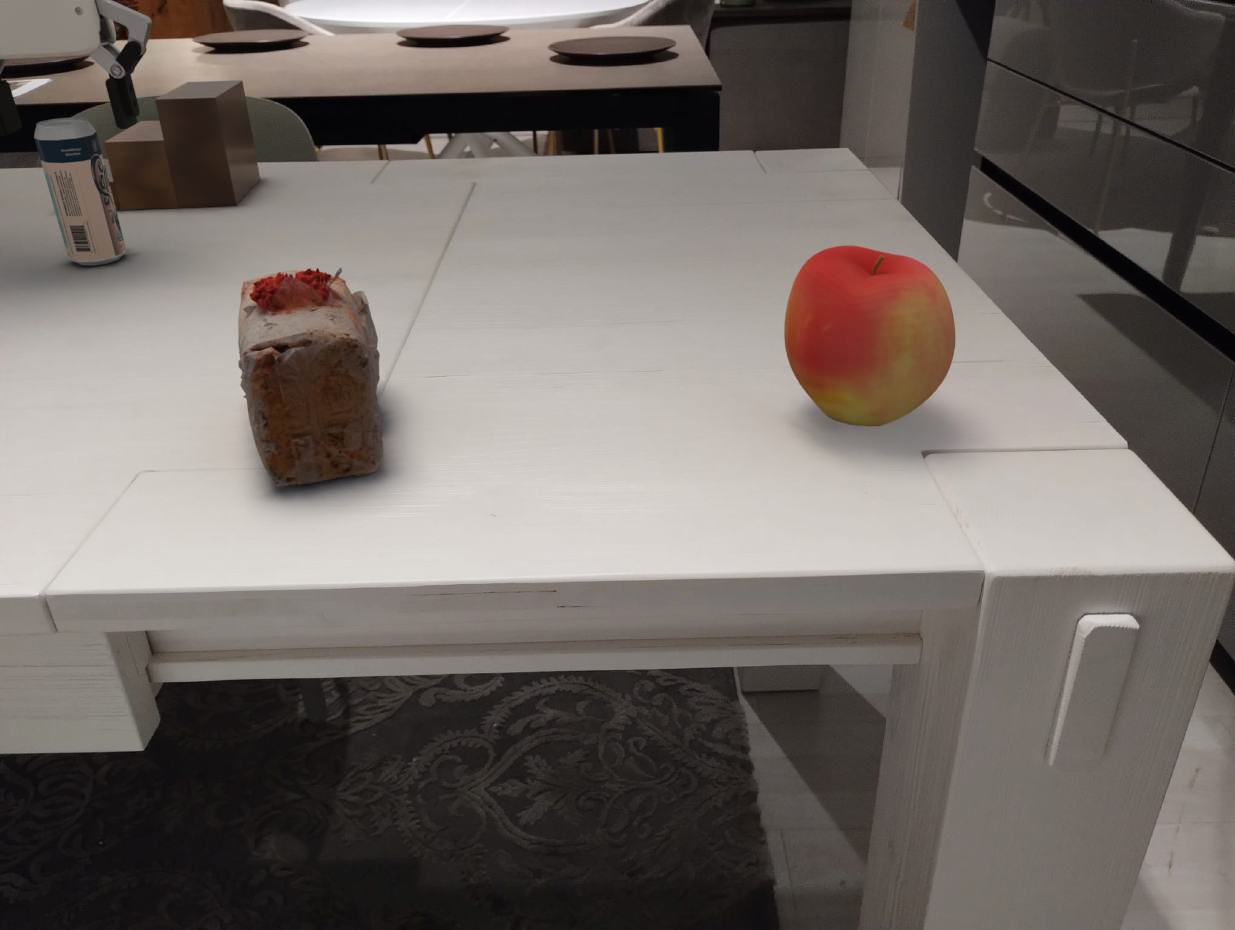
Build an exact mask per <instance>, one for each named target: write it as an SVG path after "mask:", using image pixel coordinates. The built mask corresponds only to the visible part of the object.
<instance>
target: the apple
mask: <svg viewBox="0 0 1235 930" xmlns="http://www.w3.org/2000/svg"><path fill="white" fill-rule="evenodd" d="M783 327H784V329H783V334H784V335H783V337H784V347H785V348H784V349H785V353H786V357H787V360H788V363H789V366H790V369H791V372H792V373H793V375H794V378H795V379H796V380H797V382H798V384H799V386H800V387H801V388H802V389H803V391H804V392H805V394H806V395H807V396H808V397H809V399H810V400H812V402H813V404H815V406H816V407H817V408H818V409H819V410H820V411H821V412H822V413H823V414H825V416H827V417H828V418H829V419H831V420H832V421H835V422H838V423H840V424H845V425H850V426H855V427H870V428H871V427H881V426H884V425H887V424H890V423H892V422H895V421H897V420H899V419H901V418H904V417H905V416H907V415H909V414H911V413H912V412H913V411H915V410H916V409H918V408H919V407H920V406H922V405H923V404H925V402H926V401H928V400H929V399H930V398H931V397H932V396H933V395H934V394H935V393H936V392H937V390H938V389H939V387H940V386H941V385H942V384H943V382H944V380H945V379H946V377H947V375H948V373H949V371H950V369H951V366H952V362H953V360H954V355H955V349H956V324H955V318H954V312H953V307H952V304H951V301H950V299H949V296H948V293H947V290H946V288H945V287H944V284H943V283H942V281H941V280H940V278H939V277H938V276H937V274H936V273H934V271H933V270H932V269H931V268H930V267H929V266H928V265H926V264H925V263H923V262H921V261H919V260H917V259H915V258H913V257H910V256H907V255H902V254H895V253H890V252H885V251H880V250H876V249H871V248H869V247H863V246H859V245H850V244H849V245H837V246H832V247H828V248H825V249H822V250H820V251H818V252H816V253H815V254H813V255H812V256H811V257H810V258H808V259H807V260H806V261H805V262H804V264H802V266H801V268H800V269H799V271H798V272H797V274H796V276H795V278H794V281H793V283H792V286H791V289H790V292H789V296H788V299H787V304H786V309H785V315H784V325H783Z"/></svg>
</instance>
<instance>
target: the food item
mask: <svg viewBox="0 0 1235 930" xmlns="http://www.w3.org/2000/svg"><path fill="white" fill-rule="evenodd" d="M342 269H343V268H342V267H339V268H338V270H336V272H335V275H332V274H330V273H327V272H326V271H324V272H323V271H320V269H319V267H317V268H316V270H315V269H311V267H310V268H306V270H301V269H293V270H291V269H290V270H289V269H288V270H281V271H278V272H275V273H270V274H269V273H268V274H266V275H261V276H259V277H255V278H252V279H246V280H245V281H243V282H242V286H241V291H240V303H239V310H238V317H237V318H238V319H237V320H238V322H237V323H238V325H237V327H238V329H237V330H238V331H237V333H238V341H237V344H238V354H239V360H238V368H239V370H241V375H240V379H241V380H240V384H239V386H240V387H241V389H242V391H243V392H244V394H245V395H243V396H242V398H244V399H246V406H247V415H248V420H249V425H250V430H251V433H252V438H253V440H254V443H255V447H256V450H257V453H258V455H259V457H260V460H261V462H262V464H263V467H264V469H265V471H266V473H267V475H268V476H269V477H270V478H271V479H272V481H273V482H274V484H275V485H276V486H277V487H286V486H287V487H288V486H289V487H291V486H293V487H300V486H301V485H309V484H314V483H318V482H319V483H320V482H323V481H326V480H327V481H330V480H334V479H337V478H342V477H347V476H355V477H360V476H365V475H370V474H372V473H374V472H376V471H377V470H379V469H380V465H381V463H382V461H383V458H384V442H383V430H382V429H383V426H382V424H383V423H382V416H381V408H380V405H379V401H378V394H377V390H378V385H379V382H380V357H381V355H380V352H379V350H378V342H379V338H378V334H377V330H376V326H375V323H374V319H373V317H372V313H371V310H370V306H369V304H370V303H369V301H368V300H369V299H368V298H367V295H366V293H365V291H364V290H356V291H354V292H353V293H352V292H351V290H350V288H349V287H348V286H347V282H346V280H345V279H343V278H342V277H340V275H341V273H342V272H343V270H342Z"/></svg>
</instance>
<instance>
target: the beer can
mask: <svg viewBox="0 0 1235 930" xmlns="http://www.w3.org/2000/svg"><path fill="white" fill-rule="evenodd" d="M96 130H97V129H95V127H94V126H93V125H92V124H91V122H89V119H88V118H84V117H59V118H52V119H47V120H41V121H38V122H37V123H36V127H35V130H34V135H33V139H34V142H35V146H36V149H37V153H38V157H39V159H40V163H41V167H42V170H43V174H44V177H45V180H46V184H47V187H48V191H49V195H50V199H51V202H52V206H53V209H54V213H55V216H56V219H57V224H58V226H59V230H60V233H61V234H60V235H61V237H62V240H63V241H62V242H63V244H64V249H65V251H66V254H67V258H68V260H69V261H71V262H73V263H77V264H78V265H80V266H99V265H101V266H102V265H107V264H110V263H114V262H117V261H118V260H119V259H121V257H123V256H124V255H125V253H127V246H126V242H125V239H124V235H123V231H122V227H121V223H120V220H119V216H118V212H117V211H118V210H116V207H115V203H114V199H113V196H112V192H111V188H110V184H109V180H108V176H107V172H106V168H105V164H104V160H103V159H104V156H103V153H102V149H101V145H100V141H99V138H98V133H97V131H96Z"/></svg>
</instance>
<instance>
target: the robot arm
mask: <svg viewBox="0 0 1235 930" xmlns="http://www.w3.org/2000/svg"><path fill="white" fill-rule="evenodd" d="M114 23H118V24H120V25H122V26H124V27H126V29H127V31H128V35H127V42H126V43H125V44H124V46H123V48H122V49H121V50H120V49H118V47H116V46H115V45H114V44H115V43H116V41H117V33H116V28H115V24H114ZM152 26H153V22H152V19H151V17H149V16H148V15H146V14H143V13H142V12H139V11H136V10H135V9H132V8H130V7H128V6H125V5H123V4H122V3H119V2H117V1H114V0H0V136H10V135H11V134H13V133H15V132H18V131H20V130H21V129H22V128H23V125H22V121H21V118H20V114H19V112H18V108H17V105H16V101H15V98H14V95H13V92H12V88H11V85H10V83H9V82H8V81H7V79H2V76H1V74H2V72H3V70H4V68H5V66H6V64H7V62H8V60H17V59H21V60H22V59H41V58H61V57H62V58H63V57H79V56H85V55H87V56H89V58H91V59H92V60H93V61H95V63H96V64H97V65H99V66H100V67H101V68H102V69H103V70H104V71H106V72H107V73H108V78H107V79H106V80H105V82H104V83H105V88H106V92H107V96H108V99H109V103H110V107H111V110H112V114H113V115H112V116H113V119H114V123H115V126H116V128H117V129H119V130H126V129H128V128H130V127H132V126H133V125H135V124H137V123H138V119H137V117H138V116H140V106H139V102H138V98H137V95H136V90H135V86H134V83H133V79H132V75H131V74H133V73H134V72H135V70H136V68H137V65H138V64H139V63H140V61H141V60H142V58H143V57H144V55H145V54H146V52H147V45H148V43H149V38H150V34H151V30H152Z"/></svg>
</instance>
